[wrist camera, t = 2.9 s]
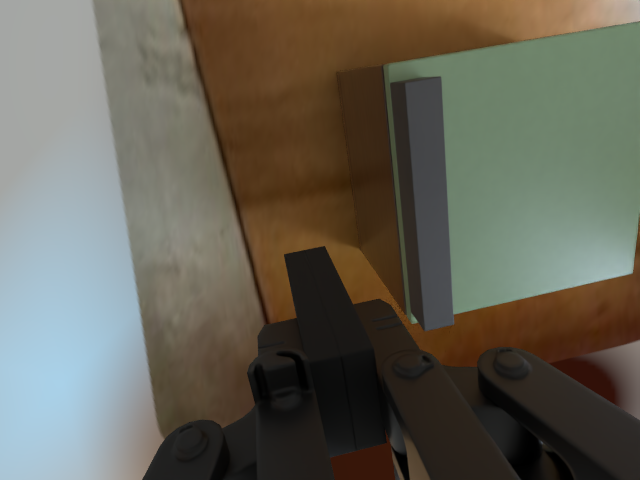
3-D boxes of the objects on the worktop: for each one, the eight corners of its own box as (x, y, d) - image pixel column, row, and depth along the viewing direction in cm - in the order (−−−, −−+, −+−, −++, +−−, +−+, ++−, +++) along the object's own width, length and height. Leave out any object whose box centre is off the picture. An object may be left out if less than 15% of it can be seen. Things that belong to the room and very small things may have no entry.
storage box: (360, 249, 35) (405, 315, 25) (336, 72, 30) (381, 65, 20) (516, 216, 36) (619, 267, 26) (517, 41, 31) (645, 20, 21)
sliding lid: (406, 317, 25) (425, 344, 22) (382, 64, 20) (402, 61, 17) (622, 268, 26) (664, 289, 23) (649, 19, 21) (706, 10, 18)
